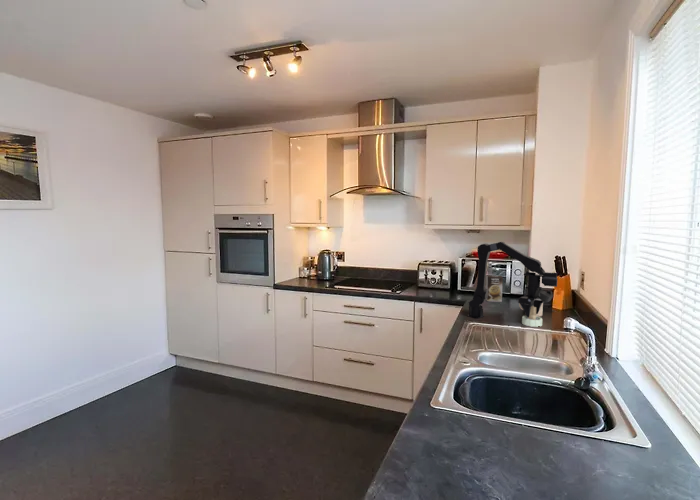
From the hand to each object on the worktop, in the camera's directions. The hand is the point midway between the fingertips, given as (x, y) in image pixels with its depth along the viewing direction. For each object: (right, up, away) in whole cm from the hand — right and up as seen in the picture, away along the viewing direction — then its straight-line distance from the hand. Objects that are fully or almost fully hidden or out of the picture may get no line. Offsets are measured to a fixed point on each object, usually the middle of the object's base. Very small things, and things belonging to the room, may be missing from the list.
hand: (532, 315), depth 188 cm
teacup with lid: (+8, -3, +18) cm, 20 cm away
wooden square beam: (0, -4, 0) cm, 4 cm away
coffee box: (0, 0, +52) cm, 52 cm away
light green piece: (0, -4, 0) cm, 4 cm away
